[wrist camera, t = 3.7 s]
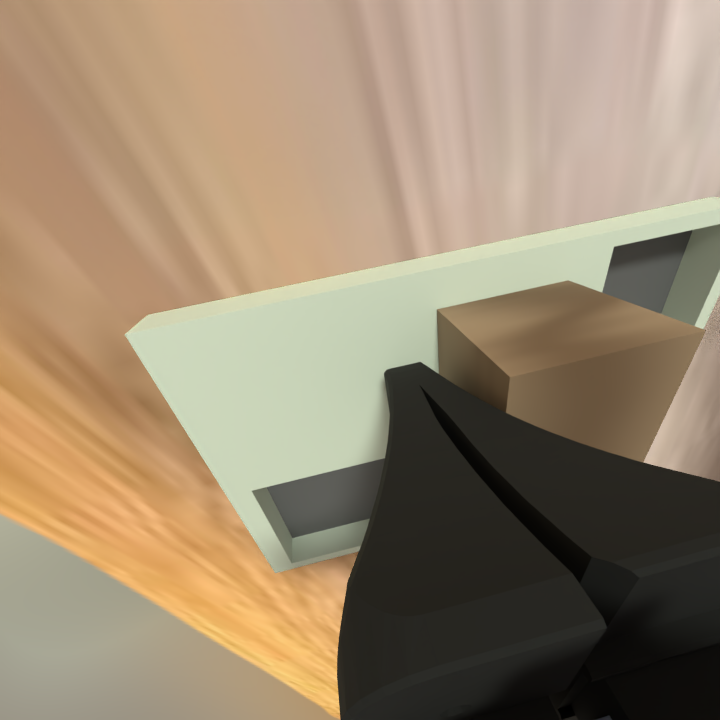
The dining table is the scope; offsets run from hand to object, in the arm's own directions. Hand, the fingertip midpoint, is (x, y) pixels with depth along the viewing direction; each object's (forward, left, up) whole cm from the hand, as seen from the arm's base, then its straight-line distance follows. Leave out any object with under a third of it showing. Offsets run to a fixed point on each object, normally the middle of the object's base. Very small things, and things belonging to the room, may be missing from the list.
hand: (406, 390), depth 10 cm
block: (-4, 0, -1) cm, 4 cm away
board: (-2, +3, -2) cm, 5 cm away
